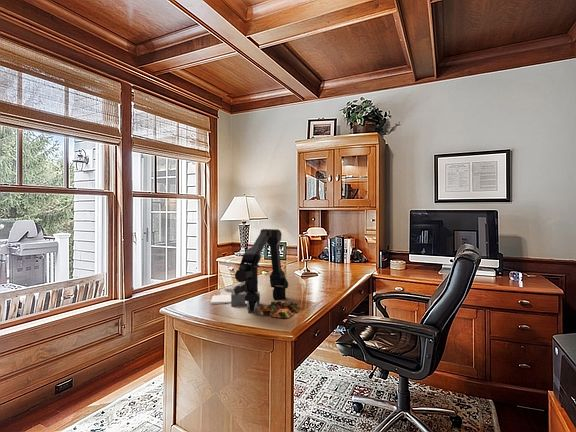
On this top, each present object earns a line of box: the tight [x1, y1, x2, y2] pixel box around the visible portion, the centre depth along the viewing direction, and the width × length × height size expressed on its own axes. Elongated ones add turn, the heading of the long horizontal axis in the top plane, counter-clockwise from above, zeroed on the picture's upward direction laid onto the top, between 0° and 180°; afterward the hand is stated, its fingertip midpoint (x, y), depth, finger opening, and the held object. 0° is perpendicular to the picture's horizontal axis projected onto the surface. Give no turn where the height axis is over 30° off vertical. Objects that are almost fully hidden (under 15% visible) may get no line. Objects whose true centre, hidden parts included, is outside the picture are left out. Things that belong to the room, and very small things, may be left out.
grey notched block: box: [230, 291, 261, 307], centre depth 181 cm, size 14×5×6 cm, turn 97°
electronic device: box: [224, 281, 245, 293], centre depth 210 cm, size 5×10×15 cm
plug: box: [246, 301, 256, 314], centre depth 173 cm, size 4×12×4 cm, turn 7°
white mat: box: [209, 294, 231, 305], centre depth 189 cm, size 12×14×1 cm
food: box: [255, 300, 301, 319], centre depth 169 cm, size 22×19×4 cm
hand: (251, 310), depth 165 cm, fingers closed
